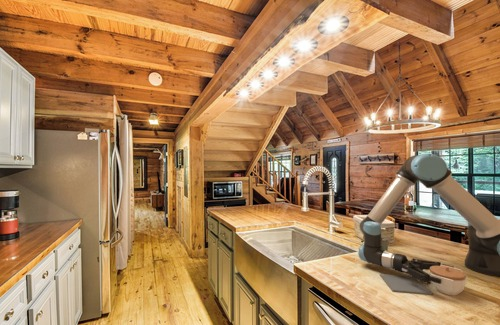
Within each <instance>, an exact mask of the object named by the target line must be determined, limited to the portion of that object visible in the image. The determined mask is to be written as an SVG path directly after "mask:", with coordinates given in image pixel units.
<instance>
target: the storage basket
mask: <svg viewBox="0 0 500 325" xmlns="http://www.w3.org/2000/svg"><path fill="white" fill-rule="evenodd" d="M367 216H368V214H357V215H356V214H355V215H353V216H352V220H353V223H354V232H355V236H356V237H358V238H359V239H360V240H363V233H362V232H361V230H360V226H359V225H360V222H361V221H362V220H364V219H365V218H366V217H367ZM395 228H396V223H395V222H394V221H391V220H390V219H387V218H386V219H385V220H384V221H383V223H382V224H381V230H382V232H381V237H385V238H387V239H388V241H389V245H388V247H389V246H394V244H395Z"/></svg>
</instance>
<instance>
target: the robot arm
mask: <svg viewBox="0 0 500 325" xmlns="http://www.w3.org/2000/svg"><path fill="white" fill-rule="evenodd" d="M452 173H453V172H452V170H451V169H449V167H448V165H447V162H446V161H445V160H444V159H443V158H442V157H441V156H439V155H436V154H433V153H423V154H422V153H421V154H416V155H412V156H410V157H408V158H407V159H406V160H404V162H403V164H402V165H401V166H400V168H399V169H398V171H397V172H396V173H395V178H394V180H393V181H392V182H391V183H390V185H389V186H388V187H387V189H386V191H385V192H384V193H383V194H382V195H381V197H380V198H379V200H377V202H376V203H375V205H374V206H373V208H372V209H371V210H370V212H369V213H368V214H367V215H368V216H367V217H366V218H365V219H363V220H362V221H361V222H360V225H359V226H360V230H361V232H362V233H363V235H364V240H363V244H361V245H360V246H359V248H358V257H359V258H358V259H360V260H361V261H364V262H367V263H368V264H371V265H375V266H379V267H382V268H386V269H387V270H392V271H393V270H394V271H396V272H399V273H402V274H406V275H407V276H412V277H414V278H416V279H418V280H419V281H420V282H421V283H425V284H429V285H430V284H431V283H432V282H433V283H437V284H440V285H443V286H447V287H450V288H454V284H453V280H451V279H447V278H444V277H440V276H437V275H433V274H431V276H430V273H428V272H426V271H425V270H429V271H430V267H431V266H444V265H441V264H442V262H441V261H434V260H433V261H432V260H425V259H417V258H412V259H411V260H410V259H408V257H407V255H405V254H402V253H396V252H394V251H390V250H388V251H386V250H382V249H381V247H382V246H381V232H382V230H381V224H382V223H383V221H384V220H385V219H387V218H388V216H389V215H390V214H391V212H392V211H393V210H394V208H395V207H396V206H397V205H398V203H399V202H400V200H401V199H402V198H403V196H404V195H405V194H406V193H407V191H408V190H409V189H410V188H411V187H412V186H415V185H416V184H417V183H418V182H420V184H422V185H423V186H424V187H425V188H426V189H432V190H433V191H434V192H436V194H438V195H439V196H440V197H441V198H442V199H443V200H444V201H446V202H447V203H448V204H449V206H451V207H452V209H454V210H455V211H456V212H457V213H458V214H459V215H460V216H461V217H462V218H463V219H464V220H465V221H466V222H467V223H468V225H467V229H468V230H467V232H468V251H467V254H466V256H465V259H464V267H466V268H467V269H469V270H472V271H473V272H477V273H480V274H484V275H488V276H493V277H500V219H499V218H497V216H495V215H494V214H493V213H492V212H491V211H490V210H489V209H488V208H486V207H485V206H484V205H483V204H482V203H480V201H479V200H478V199H477V198H475V197H474V196H473V195H472V194H471V193H470V192H469V191H468V190H466V189H465V188H464V186H462V185H461V184H460V183H459V182H458V181H457V180H455V179H454V178H453V177H452ZM446 267H448V266H446ZM450 268H452V267H450ZM453 269H456V270H459V271H461V272H462V269H459V268H457V267H456V268H455V267H454V268H453ZM433 283H432V284H433Z"/></svg>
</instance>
